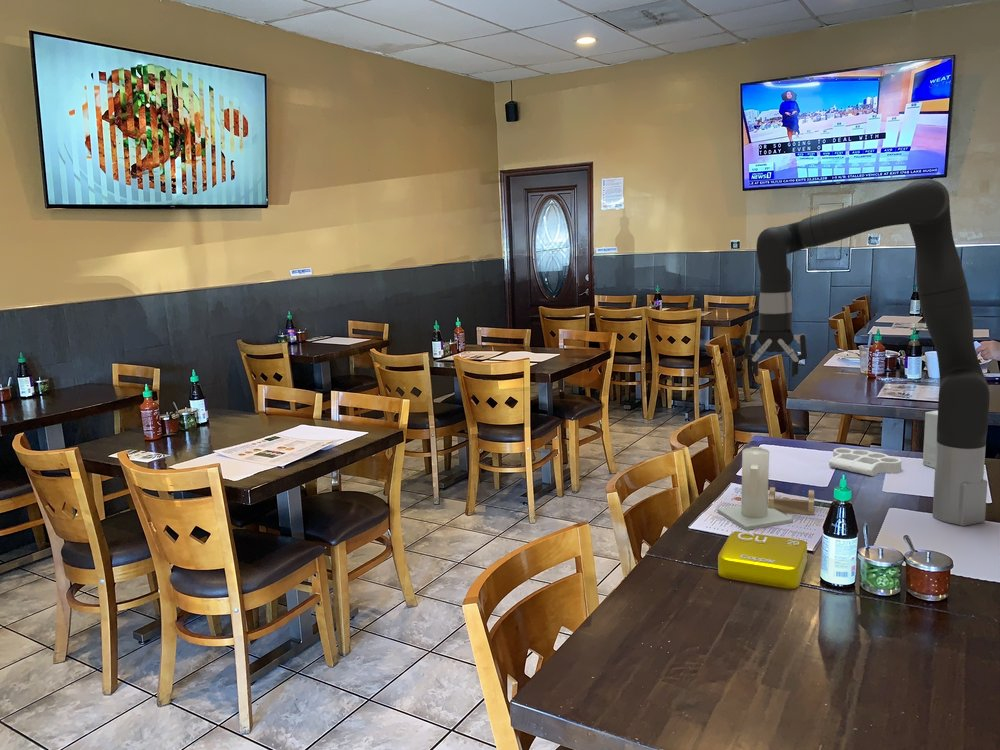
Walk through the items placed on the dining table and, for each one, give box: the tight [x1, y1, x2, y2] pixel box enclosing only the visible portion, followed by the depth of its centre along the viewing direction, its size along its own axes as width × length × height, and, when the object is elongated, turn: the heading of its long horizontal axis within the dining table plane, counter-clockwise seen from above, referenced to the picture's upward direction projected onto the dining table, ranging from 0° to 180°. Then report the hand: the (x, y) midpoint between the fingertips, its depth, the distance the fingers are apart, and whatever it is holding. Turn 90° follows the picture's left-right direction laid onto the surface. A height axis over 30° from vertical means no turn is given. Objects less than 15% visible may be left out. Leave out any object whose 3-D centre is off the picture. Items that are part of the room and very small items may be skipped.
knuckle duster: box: [828, 447, 902, 477], centre depth 205 cm, size 3×18×15 cm
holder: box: [768, 486, 815, 516], centre depth 179 cm, size 9×10×3 cm
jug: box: [740, 446, 770, 518], centre depth 172 cm, size 10×6×15 cm, turn 158°
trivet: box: [717, 504, 794, 531], centre depth 174 cm, size 12×12×1 cm
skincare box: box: [922, 410, 938, 469], centre depth 201 cm, size 8×6×15 cm
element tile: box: [717, 531, 808, 590], centre depth 149 cm, size 15×15×5 cm
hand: (775, 376), depth 185 cm, fingers open, 8 cm apart
